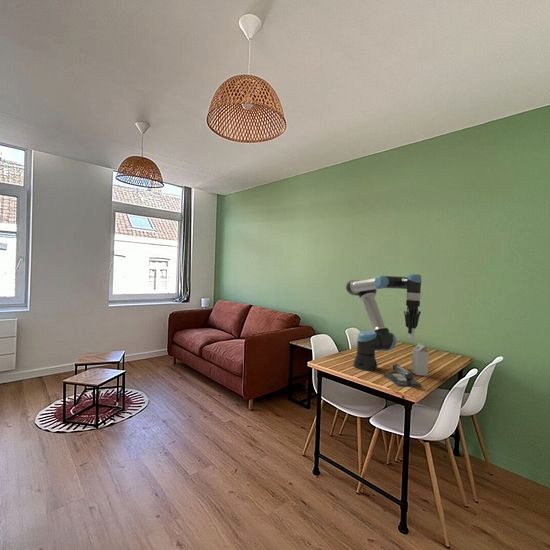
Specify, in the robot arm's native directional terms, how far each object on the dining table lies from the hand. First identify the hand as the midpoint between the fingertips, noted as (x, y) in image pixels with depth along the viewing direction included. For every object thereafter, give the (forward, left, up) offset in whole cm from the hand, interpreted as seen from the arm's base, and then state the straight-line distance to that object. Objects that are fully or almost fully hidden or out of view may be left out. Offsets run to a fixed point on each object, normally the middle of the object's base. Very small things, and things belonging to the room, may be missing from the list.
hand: (410, 338), depth 175 cm
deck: (+3, -6, -24) cm, 25 cm away
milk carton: (-9, +13, -25) cm, 29 cm away
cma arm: (+3, -6, -20) cm, 21 cm away
